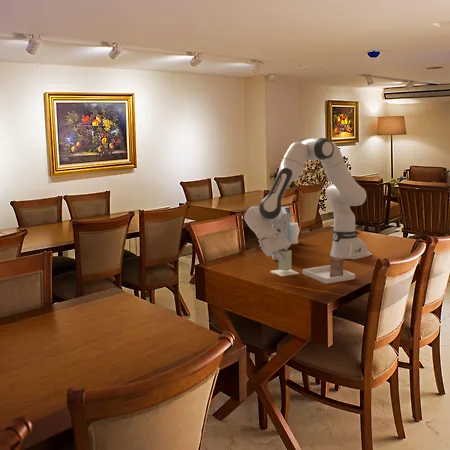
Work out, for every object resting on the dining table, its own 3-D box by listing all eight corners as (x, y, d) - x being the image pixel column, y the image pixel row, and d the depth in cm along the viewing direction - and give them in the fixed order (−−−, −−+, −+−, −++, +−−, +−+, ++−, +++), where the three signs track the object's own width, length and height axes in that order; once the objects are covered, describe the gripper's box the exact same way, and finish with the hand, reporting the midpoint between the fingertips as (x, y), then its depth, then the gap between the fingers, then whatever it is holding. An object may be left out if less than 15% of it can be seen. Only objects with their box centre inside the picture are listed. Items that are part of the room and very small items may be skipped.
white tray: (330, 271, 244) (330, 265, 243) (354, 280, 228) (355, 274, 227) (302, 275, 237) (302, 269, 236) (326, 285, 221) (326, 278, 220)
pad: (288, 270, 246) (288, 268, 246) (299, 275, 237) (299, 273, 237) (270, 272, 242) (270, 270, 242) (281, 278, 233) (281, 275, 233)
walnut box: (333, 275, 233) (334, 256, 231) (343, 277, 230) (343, 258, 229) (329, 278, 229) (330, 258, 228) (339, 279, 227) (339, 260, 225)
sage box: (282, 267, 242) (283, 248, 241) (291, 268, 240) (291, 250, 238) (278, 269, 239) (278, 250, 237) (286, 270, 236) (287, 251, 234)
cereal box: (287, 260, 265) (287, 213, 261) (272, 260, 266) (272, 213, 261) (284, 250, 287) (284, 207, 282) (270, 250, 287) (270, 207, 282)
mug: (294, 239, 315) (295, 221, 313) (304, 242, 308) (305, 222, 306) (281, 242, 308) (281, 223, 306) (291, 244, 301) (291, 225, 299)
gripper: (261, 235, 231) (280, 259, 228) (282, 228, 248) (299, 250, 244) (253, 244, 235) (271, 267, 231) (274, 236, 251) (291, 257, 248)
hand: (286, 258), depth 238 cm, fingers closed on sage box, 4 cm apart
